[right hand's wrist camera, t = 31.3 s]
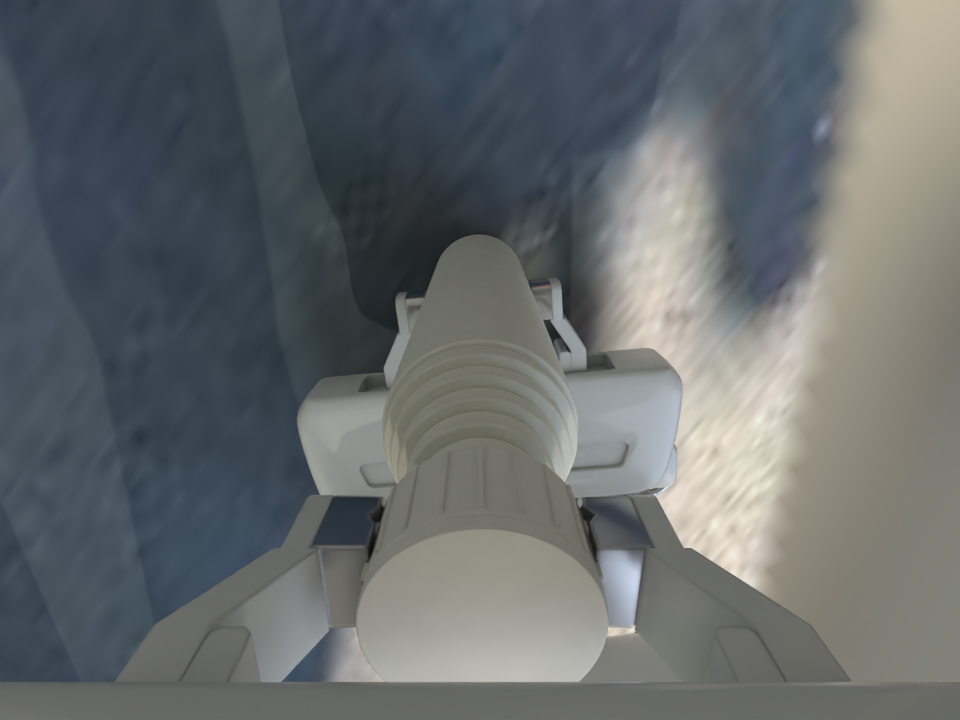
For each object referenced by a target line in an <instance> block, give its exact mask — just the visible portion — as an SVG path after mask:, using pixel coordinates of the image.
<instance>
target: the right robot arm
mask: <svg viewBox="0 0 960 720" xmlns="http://www.w3.org/2000/svg"><path fill="white" fill-rule="evenodd" d="M385 503H386V499H385V497H384V496H353V495H336V496H334V495H311V496H309V497H308V498H307V499H306V500H305V502H304V504H303V506H302V508H301V510H300V512H299V514H298V516H297V518H296V520H295V522H294V524H293V525H292V527H291V529H290V531H289V533H288V535H287V537H286V539H285V541H284V543H283V545H282V547H281V548H273V549H271V550H270V551H268V552H267V553H265V554H263V555H262V556H260V557H259V558H257V559H256V560H254V561H253V562H251V563H250V564H248V565H246V566H245V567H243V568H242V569H240V570H239V571H237V572H236V573H234V574H232V575H231V576H229V577H228V578H226V579H225V580H223V581H222V582H220V583H218V584H217V585H215V586H214V587H212V588H211V589H209V590H208V591H206V592H204V593H203V594H201V595H200V596H198V597H197V598H195V599H194V600H192V601H190V602H189V603H187V604H186V605H184V606H183V607H181V608H180V609H178V610H176V611H175V612H173V613H172V614H170V615H169V616H167V617H166V618H164V619H163V620H161V621H159V622H158V623H156V624H155V625H154V626H153V628H152V629H151V631H150V632H149V633H148V635H147V636H146V638H145V639H144V640H143V642H142V643H141V645H140V646H139V647H138V649H137V650H136V652H135V653H134V655H133V656H132V657H131V659H130V660H129V662H128V663H127V664H126V666H125V667H124V669H123V670H122V671H121V673H120V674H119V676H118V677H117V679H116V680H115V681H114V682H0V720H960V682H852V681H851V680H850V678H849V677H848V676H847V674H846V673H845V671H844V670H843V669H842V667H841V666H840V664H839V663H838V662H837V660H836V659H835V657H834V656H833V655H832V653H831V652H830V650H829V649H828V648H827V646H826V645H825V643H824V642H823V641H822V639H821V638H820V636H819V635H818V634H817V632H816V631H815V629H814V628H813V627H812V625H810V624H809V623H807V622H806V621H804V620H802V619H801V618H799V617H798V616H796V615H795V614H793V613H792V612H790V611H788V610H787V609H785V608H784V607H782V606H781V605H779V604H778V603H776V602H774V601H773V600H771V599H770V598H768V597H767V596H765V595H763V594H762V593H760V592H759V591H757V590H756V589H754V588H753V587H751V586H749V585H748V584H746V583H745V582H743V581H742V580H740V579H738V578H737V577H735V576H734V575H732V574H731V573H729V572H728V571H726V570H724V569H723V568H721V567H720V566H718V565H717V564H715V563H714V562H712V561H710V560H709V559H707V558H706V557H704V556H703V555H701V554H699V553H698V552H696V551H695V550H693V549H692V548H683V546H682V544H681V542H680V540H679V538H678V537H677V535H676V533H675V531H674V529H673V527H672V525H671V524H670V522H669V520H668V518H667V516H666V514H665V512H664V511H663V509H662V507H661V505H660V503H659V501H658V499H657V498H656V497H655V496H654V495H629V496H599V497H579V498H578V505H579V508H580V510H581V513H582V516H583V520H585V521H587V524H588V527H589V531H588V538H589V541H590V544H591V548H592V551H593V555H594V558H595V561H596V562H597V561H598V562H599V564H600V568H601V571H602V575H603V579H600V581H601V585H602V588H603V591H604V595H605V599H606V603H607V607H608V618H609V624H608V627H620V628H635V631H636V632H637V633H638V634H639V635H640V636H641V637H642V638H643V639H644V640H645V641H646V642H647V643H648V644H649V646H650V647H651V648H652V649H653V650H654V651H655V652H656V653H657V654H658V655H659V656H660V657H661V658H662V659H663V660H664V661H665V663H666V664H667V665H668V666H669V667H670V668H671V669H672V670H673V671H674V672H675V673H676V674H677V675H678V676H679V677H680V679H681V680H682V681H683V682H281V681H282V680H283V679H284V678H285V677H286V676H287V675H288V674H289V673H290V672H291V671H292V670H293V669H294V668H295V666H296V665H297V664H298V663H299V662H300V661H301V660H302V659H303V658H304V657H305V656H306V655H307V654H308V653H309V652H310V650H311V649H312V648H313V647H314V646H315V645H316V644H317V643H318V642H319V641H320V640H321V639H322V638H323V637H324V635H325V634H326V633H327V632H328V631H329V628H344V627H356V609H357V605H358V601H359V597H360V593H361V590H362V586H363V582H364V581H361V580H360V579H361V575H362V572H363V568H364V565H365V563H369V560H370V556H371V553H372V549H373V545H374V542H375V538H376V530H375V525H376V523H378V522H380V520H381V516H382V512H383V509H384V506H385Z"/></svg>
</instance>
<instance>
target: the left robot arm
mask: <svg viewBox="0 0 960 720" xmlns="http://www.w3.org/2000/svg"><path fill="white" fill-rule="evenodd" d="M529 286H530V288H531V291H532V293H533V296H534V298H535V301H536V304H537V306H538V309H539V311H540V314H541V316H542V319H543V320H550V321H551V323H552V324H553V325H554V327H555V328H556V330H557V331H558V333H559V334H560V336H561V337H562V339H556V340H555V341H554V349H555V352H556V354H557V357H558V359H559V362H560V364H561V367H562V370H563V372H564V375H565V377H566V380H567V382H568V385H569V387H570V390H571V392H572V395H573V398H574V401H575V404H576V408H577V414H578V444H577V452H576V456H575V459H574V463H573V465H572V468H571V470H570V472H569V474H568V476H567V478H566V480H565V483H566V485H568V484H569V485H570V486H571V488H572V492H573V495H574V497H575V498H576V500H577V503H578V498H579V497H599V496H629V495H654V496H655V495H658V494H660V493H662V492H663V491H665V490H666V489H667V488H668V487H670V486H672V485H673V483H674V481H675V479H676V469H677V449H676V446H675V439H676V435H677V430H678V424H679V418H680V411H681V403H682V393H683V385H682V380H681V378H680V376H679V374H678V373H677V372H676V370H675V369H674V368H673V367H672V365H671V364H670V363H669V362H668V361H667V360H666V359H665V358H663V357H662V356H661V355H660V354H659V353H657V352H656V351H655V350H653V349H650V348H641V349H631V350H620V351H609V352H598V353H587V354H586V348H585V346H584V345H583V343H582V341H581V339H580V338H579V336H578V334H577V333H576V331H575V330H574V328H573V327H572V326H571V324H570V323H569V321H568V320H567V318H566V317H565V315H564V314H563V309H562V289H561V283H560V281H559V279H558V278H557V277H556V278H546V279H537V280H529ZM426 292H427V291H426V290H425V291H413V292H401V293H398V295H397V296H396V312H397V319H398V325H399V332H398V334H397V337H396V339H395V341H394V344H393V346H392V349H391V351H390V353H389V356H388V358H387V361H386V363H385V366H384V372H379V373H369V374H358V375H346V376H335V377H326V378H323V379H321V380H320V381H319V382H318V383H317V384H316V385H315V386H314V387H313V389H312V390H311V391H310V392H309V393H308V395H307V396H306V398H305V399H304V401H303V403H302V405H301V406H300V409H299V411H298V415H297V426H298V431H299V435H300V439H301V443H302V446H303V450H304V453H305V456H306V459H307V462H308V465H309V468H310V471H311V474H312V476H313V479H314V481H315V484H316V486H317V489H318V491H319V493H320V495H334V496H336V495H353V496H384V497H385V499H386V501H387V499H388V497H389V495H390V491H391V488H392V487H393V486H396V485H397V483H396V481H395V478H394V476H393V474H392V472H391V470H390V468H389V466H388V463H387V460H386V457H385V452H384V446H383V429H382V420H383V411H384V407H385V404H386V400H387V397H388V394H389V392H390V389H391V386H392V384H393V381H394V378H395V376H396V373H397V370H398V368H399V365H400V362H401V359H402V357H403V354H404V351H405V349H406V346H407V343H408V341H409V338H410V335H411V333H412V330H413V327H414V325H415V322H416V319H417V317H418V314H419V311H420V308H421V306H422V303H423V300H424V298H425V295H426ZM651 488H653V489H651ZM579 682H683V681H682V680H681V679H680V677H679V676H678V675H677V674H676V673H675V672H674V671H673V670H672V669H671V668H670V667H669V666H668V665H667V664H666V663H665V661H664V660H663V659H662V658H661V657H660V656H659V655H658V654H657V653H656V652H655V651H654V650H653V649H652V648H651V647H650V646H649V644H648V643H647V642H646V641H645V640H644V639H643V638H642V637H641V636H640V635H639V634H638V633H637V632H635V633H631V634H623V635H616V636H608V637H606V641H605V644H604V647H603V649H602V651H601V654H600V656H599V658H598V659H597V661H596V662H595V664H594V665H593V667H592V668H591V670H590V671H589V672H588V673H587V674H586V675H585V676H584V677H583V678H582V679H581V680H580V681H579Z"/></svg>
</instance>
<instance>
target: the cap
mask: <svg viewBox="0 0 960 720" xmlns="http://www.w3.org/2000/svg"><path fill="white" fill-rule="evenodd" d="M375 530H376V538H375V542H374V545H373V549H372V553H371V556H370V560H369V563H365V565H364V568H363V572H362V575H361V579H360V580H361V581H364V582H363V586H362V590H361V593H360V597H359V601H358V605H357V609H356V630H357V636H358V640H359V643H360V647H361V649H362V651H363V653H364V656H365V658H366V659H367V661H368V662H369V664H370V665H371V667H372V668H373V670H374V671H375V672H376V673H377V674H378V675H379V676H380V677H381V679H382V680H384V681H385V682H579V681H580V680H581V679H582V678H583V677H584V676H585V675H586V674H587V673H588V672H589V671H590V670H591V668H592V667H593V665H594V664H595V662H596V661H597V659H598V658H599V656H600V654H601V651H602V649H603V647H604V644H605V641H606V637H607V632H608V624H609V618H608V607H607V603H606V599H605V595H604V591H603V588H602V585H601V581H600V579H603V575H602V571H601V568H600V564H599V562H598V561H597V562H596V561H595V558H594V555H593V551H592V548H591V544H590V541H589V538H588V531H589V527H588V524H587V521H585V520H583V516H582V513H581V510H580V508H579V505H578V503H577V500H576V498H575V497H574V495H573V492H572V488H571V486H570V485H569V484H568V485H566V483H565V482H564V481H563V480H562V479H561V478H560V477H559V476H558V475H557V474H556V473H555V472H553V471H552V470H551V469H550V468H549V467H548V465H546V464H542V463H541V462H539V461H537V460H535V459H533V458H531V457H529V456H526V455H524V454H521V453H518V452H516V451H510V450H506V449H501V448H492V447H472V448H462V449H458V450H453V451H449V452H448V451H447V452H444V453H443V454H440V455H437V456H435V457H433V458H431V459H429V460H427V461H425V462H423V463H421V464H419V465H416V466H414V468H413V469H412V470H411V471H410V472H409V473H408V474H407V475H406V476H404V477H403V478H402V479H401V480H400V482H399V483H398V484H397V485H396V486H393V487H392V488H391V491H390V495H389V497H388V499H387V501H386V503H385V506H384V509H383V512H382V516H381V520H380V522H378V523H376V525H375Z"/></svg>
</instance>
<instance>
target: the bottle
mask: <svg viewBox="0 0 960 720" xmlns="http://www.w3.org/2000/svg"><path fill="white" fill-rule="evenodd" d="M382 429H383V446H384V452H385V457H386V460H387V463H388V466H389V468H390V470H391V472H392V474H393V476H394V478H395V481H396V483H397V484H398V483H399V482H400V480H401V479H402V478H403V477H404V476H406V475H407V474H408V473H409V472H410V471H411V470H412V469H413V468H414V466H416V465H419V464H421V463H423V462H425V461H427V460H429V459H431V458H433V457H435V456H437V455H440V454H443V453H444V452H447V451H448V452H449V451H453V450H458V449H462V448H472V447H492V448H501V449H506V450H510V451H516V452H518V453H521V454H524V455H526V456H529V457H531V458H533V459H535V460H537V461H539V462H541V463H542V464H546V465H548V467H549V468H550V469H551V470H552V471H553V472H555V473H556V474H557V475H558V476H559V477H560V478H561V479H562V480H563V481H564V482H565V480H566V478H567V476H568V474H569V472H570V470H571V468H572V465H573V463H574V459H575V456H576V452H577V444H578V414H577V408H576V404H575V401H574V398H573V395H572V392H571V390H570V387H569V385H568V382H567V380H566V377H565V375H564V372H563V370H562V367H561V364H560V362H559V359H558V357H557V354H556V352H555V349H554V347H553V344H552V342H551V339H550V337H549V334H548V331H547V329H546V326H545V324H544V321H543V319H542V316H541V314H540V311H539V309H538V306H537V304H536V301H535V298H534V296H533V293H532V291H531V288H530V286H529V283H528V281H527V278H526V276H525V273H524V271H523V268H522V265H521V263H520V261H519V259H518V257H517V255H516V254H515V252H514V251H513V250H512V249H511V247H509V246H508V245H507V244H506V243H505V242H503V241H501V240H500V239H497V238H495V237H492V236H488V235H479V234H477V235H470V236H466V237H463V238H460V239H458V240H457V241H455V242H454V243H452V244H451V245H450V246H449V247H448V248H446V250H445V251H444V252H443V253H442V255H441V257H440V258H439V261H438V263H437V266H436V268H435V271H434V274H433V276H432V279H431V282H430V284H429V287H428V290H427V292H426V295H425V298H424V300H423V303H422V306H421V308H420V311H419V314H418V317H417V319H416V322H415V325H414V327H413V330H412V333H411V335H410V338H409V341H408V343H407V346H406V349H405V351H404V354H403V357H402V359H401V362H400V365H399V368H398V370H397V373H396V376H395V378H394V381H393V384H392V386H391V389H390V392H389V394H388V397H387V400H386V404H385V407H384V411H383V420H382Z"/></svg>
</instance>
